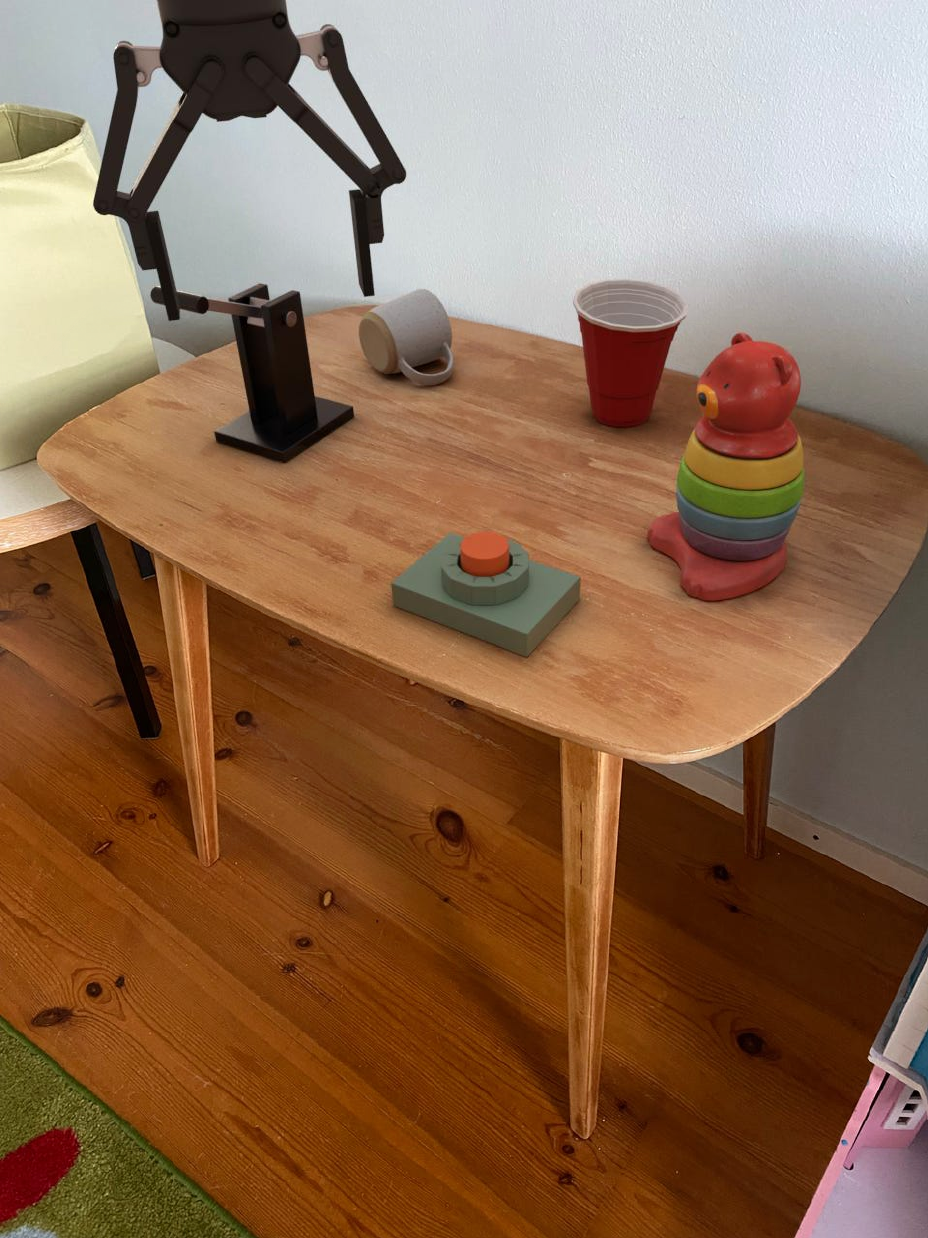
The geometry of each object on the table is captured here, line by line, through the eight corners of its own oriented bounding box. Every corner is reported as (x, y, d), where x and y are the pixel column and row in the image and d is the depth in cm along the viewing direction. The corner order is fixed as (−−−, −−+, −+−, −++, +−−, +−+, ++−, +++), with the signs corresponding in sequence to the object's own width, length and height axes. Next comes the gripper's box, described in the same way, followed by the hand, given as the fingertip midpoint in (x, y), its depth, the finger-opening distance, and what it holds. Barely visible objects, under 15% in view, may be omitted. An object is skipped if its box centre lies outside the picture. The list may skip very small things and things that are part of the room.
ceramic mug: (357, 365, 111) (350, 298, 106) (415, 345, 115) (411, 279, 110) (413, 397, 104) (408, 327, 100) (472, 374, 108) (471, 306, 103)
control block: (393, 605, 76) (388, 563, 73) (451, 554, 81) (448, 513, 79) (527, 657, 70) (527, 614, 68) (580, 599, 76) (582, 556, 73)
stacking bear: (639, 531, 83) (657, 326, 72) (749, 511, 84) (783, 308, 73) (694, 606, 74) (724, 387, 63) (815, 583, 76) (865, 366, 65)
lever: (195, 319, 81) (198, 289, 81) (148, 307, 84) (151, 278, 83) (297, 333, 93) (301, 306, 92) (253, 322, 95) (257, 297, 94)
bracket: (284, 463, 94) (260, 323, 86) (215, 441, 98) (186, 306, 90) (354, 416, 101) (339, 283, 93) (287, 398, 105) (266, 268, 97)
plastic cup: (627, 452, 93) (636, 330, 86) (546, 415, 100) (548, 298, 92) (699, 414, 99) (714, 296, 91) (618, 382, 105) (625, 269, 98)
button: (451, 569, 73) (450, 549, 72) (478, 545, 76) (477, 526, 74) (492, 583, 72) (492, 564, 70) (518, 559, 74) (518, 540, 73)
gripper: (412, -80, 61) (433, 263, 75) (-6, -52, 58) (94, 304, 71) (436, -72, 56) (454, 298, 69) (-27, -41, 52) (86, 344, 65)
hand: (272, 301), depth 70 cm, fingers open, 13 cm apart
